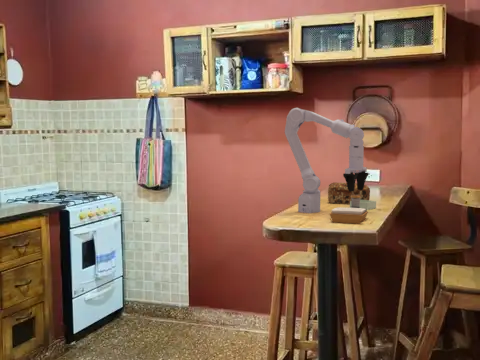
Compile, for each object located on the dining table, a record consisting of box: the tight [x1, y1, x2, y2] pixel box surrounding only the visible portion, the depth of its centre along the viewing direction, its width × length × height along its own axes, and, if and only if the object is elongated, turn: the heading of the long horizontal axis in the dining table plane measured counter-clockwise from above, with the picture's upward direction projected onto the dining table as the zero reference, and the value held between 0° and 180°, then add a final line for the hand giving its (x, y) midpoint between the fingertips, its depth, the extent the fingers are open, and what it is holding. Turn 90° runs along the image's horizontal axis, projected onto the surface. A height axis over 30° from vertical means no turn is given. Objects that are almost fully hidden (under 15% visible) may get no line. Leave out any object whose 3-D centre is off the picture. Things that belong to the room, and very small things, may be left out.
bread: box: [327, 182, 371, 205], centre depth 268 cm, size 19×11×10 cm, turn 68°
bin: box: [349, 199, 377, 211], centre depth 242 cm, size 8×8×4 cm
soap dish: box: [329, 206, 369, 225], centre depth 211 cm, size 12×10×5 cm
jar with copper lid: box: [351, 195, 360, 208], centre depth 228 cm, size 4×4×7 cm
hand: (355, 190), depth 228 cm, fingers open, 7 cm apart
